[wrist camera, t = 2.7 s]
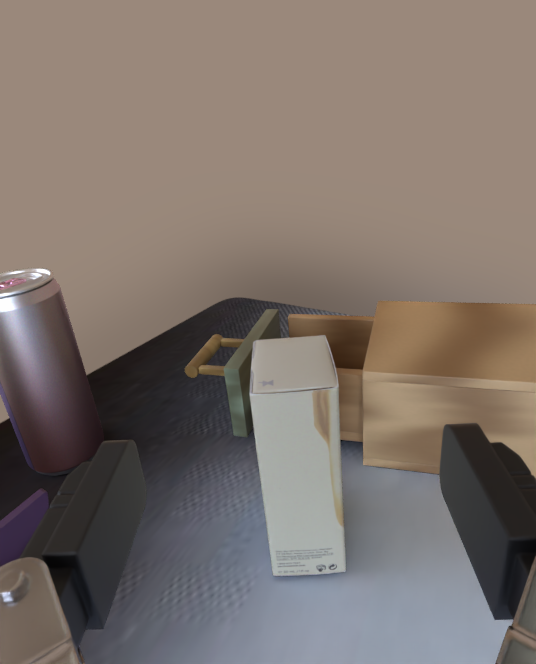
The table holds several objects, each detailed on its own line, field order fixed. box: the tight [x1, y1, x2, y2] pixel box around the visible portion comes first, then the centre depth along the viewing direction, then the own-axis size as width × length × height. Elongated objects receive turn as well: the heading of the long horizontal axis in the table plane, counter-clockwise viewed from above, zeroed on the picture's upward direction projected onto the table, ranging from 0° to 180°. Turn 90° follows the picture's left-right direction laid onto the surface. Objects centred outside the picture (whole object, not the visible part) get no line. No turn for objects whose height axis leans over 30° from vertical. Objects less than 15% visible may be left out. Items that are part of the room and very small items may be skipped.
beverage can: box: [0, 268, 104, 476], centre depth 36 cm, size 6×6×15 cm
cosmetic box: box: [250, 335, 346, 576], centre depth 27 cm, size 6×4×12 cm
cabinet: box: [362, 301, 536, 478], centre depth 36 cm, size 13×12×8 cm
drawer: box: [185, 309, 374, 442], centre depth 40 cm, size 17×11×6 cm, turn 74°
